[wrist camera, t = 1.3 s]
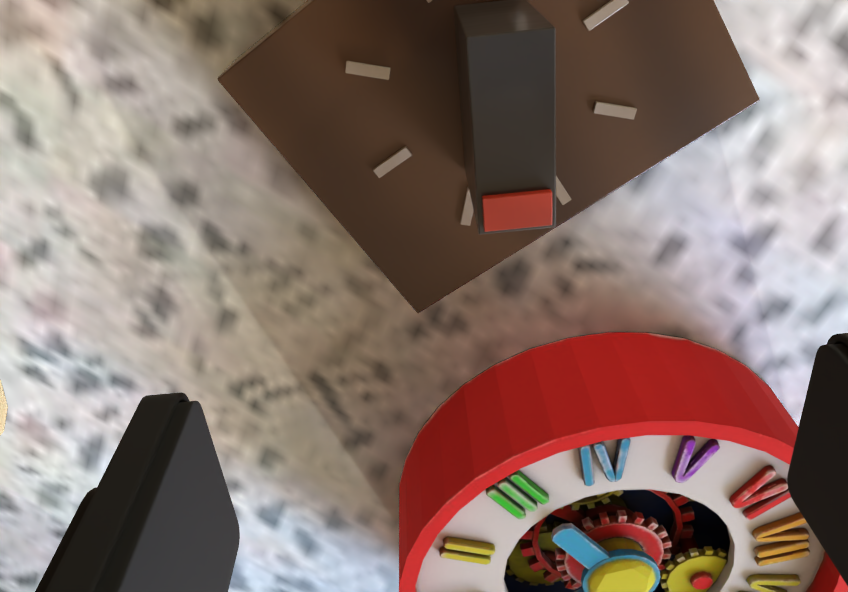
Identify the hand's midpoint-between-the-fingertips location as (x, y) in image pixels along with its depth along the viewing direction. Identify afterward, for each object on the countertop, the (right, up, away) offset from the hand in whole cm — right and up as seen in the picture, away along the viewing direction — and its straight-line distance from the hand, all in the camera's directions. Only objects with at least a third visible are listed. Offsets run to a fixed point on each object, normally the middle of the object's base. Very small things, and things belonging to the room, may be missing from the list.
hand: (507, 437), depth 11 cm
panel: (+1, +10, +14) cm, 17 cm away
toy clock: (+7, -8, +25) cm, 27 cm away
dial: (+1, +9, +12) cm, 15 cm away
